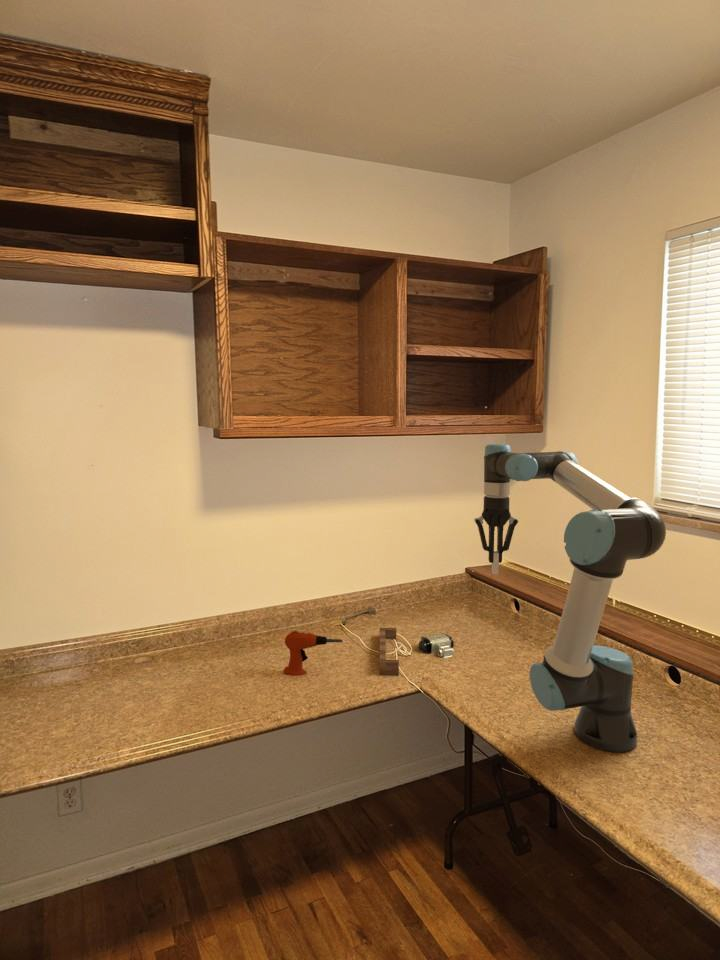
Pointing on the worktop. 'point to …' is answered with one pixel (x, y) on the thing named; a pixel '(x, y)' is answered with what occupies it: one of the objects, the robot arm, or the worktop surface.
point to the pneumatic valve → (437, 645)
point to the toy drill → (301, 650)
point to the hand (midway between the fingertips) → (495, 573)
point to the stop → (385, 665)
